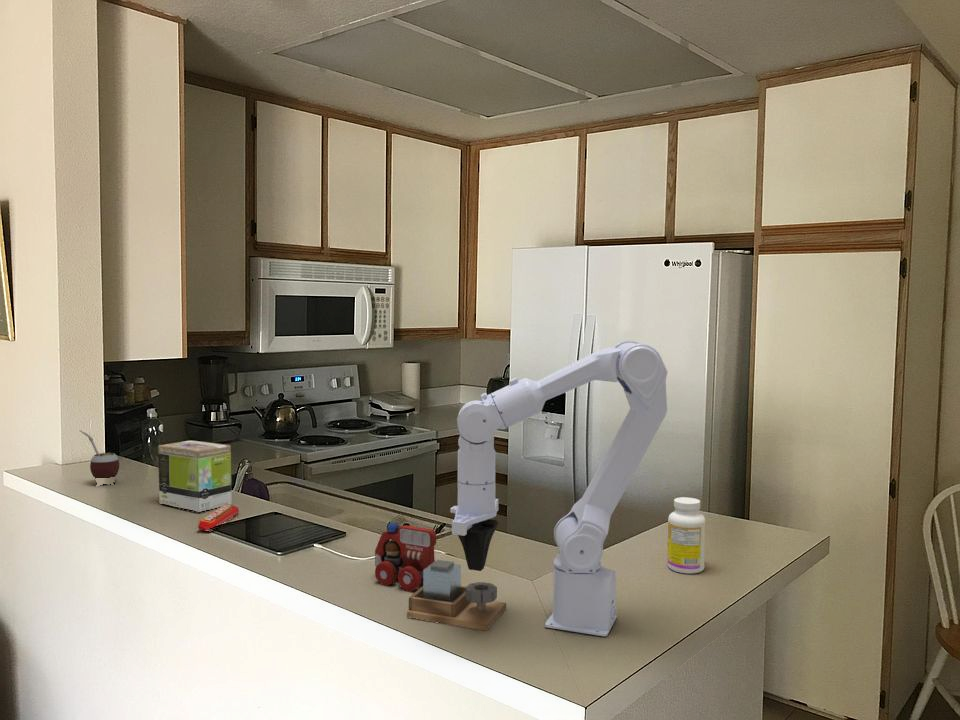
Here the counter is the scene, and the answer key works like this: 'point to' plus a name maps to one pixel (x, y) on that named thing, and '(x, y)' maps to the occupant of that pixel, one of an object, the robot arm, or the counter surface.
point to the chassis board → (455, 611)
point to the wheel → (481, 592)
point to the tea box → (195, 474)
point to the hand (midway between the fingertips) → (476, 568)
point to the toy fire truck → (404, 555)
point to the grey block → (442, 581)
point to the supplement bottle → (686, 537)
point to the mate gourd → (103, 463)
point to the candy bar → (218, 517)
